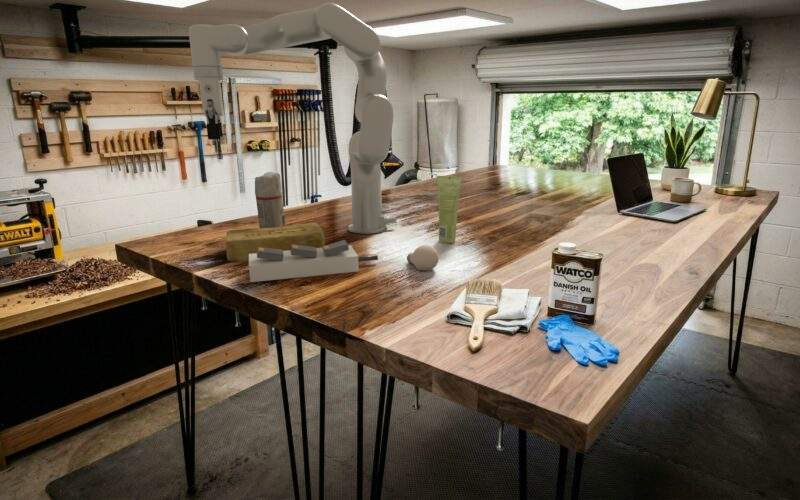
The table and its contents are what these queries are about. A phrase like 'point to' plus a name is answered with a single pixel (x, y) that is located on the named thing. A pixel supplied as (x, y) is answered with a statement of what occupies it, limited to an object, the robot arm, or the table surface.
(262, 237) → the brick
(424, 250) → the light bulb
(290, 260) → the power strip
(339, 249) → the block
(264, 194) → the grey cylinder
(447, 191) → the tube
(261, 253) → the block
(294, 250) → the plate
